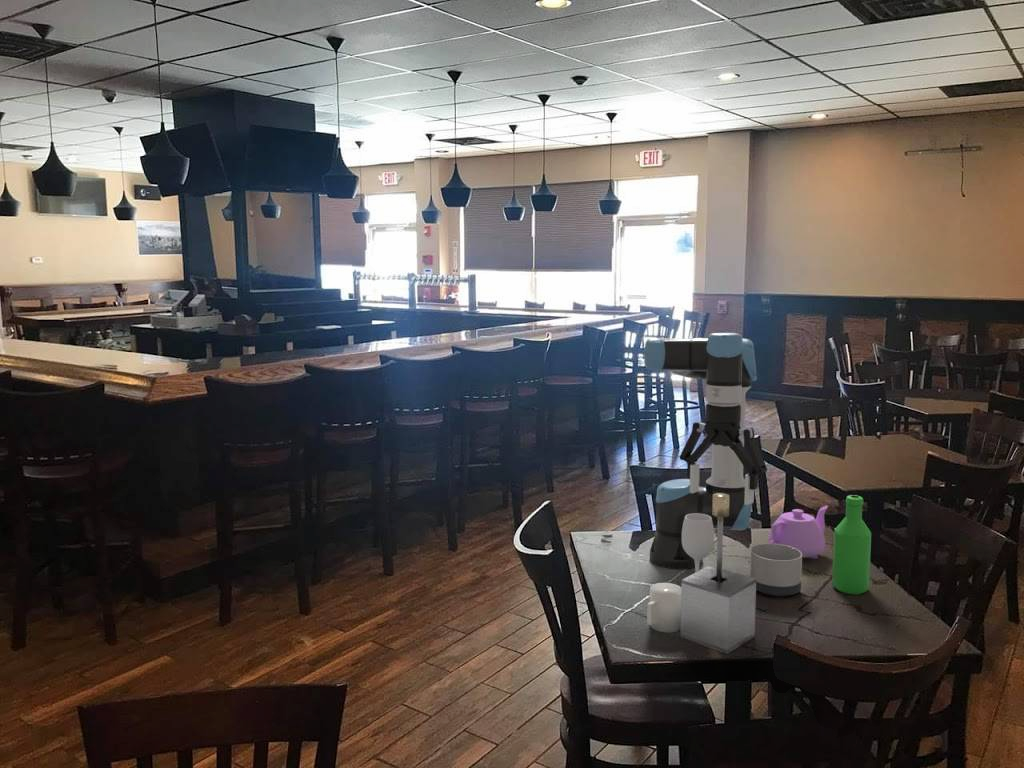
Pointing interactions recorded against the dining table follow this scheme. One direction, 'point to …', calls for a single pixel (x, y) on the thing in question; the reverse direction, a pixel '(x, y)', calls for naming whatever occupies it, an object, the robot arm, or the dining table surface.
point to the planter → (776, 569)
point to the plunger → (720, 527)
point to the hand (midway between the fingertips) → (720, 497)
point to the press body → (718, 609)
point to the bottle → (852, 550)
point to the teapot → (800, 532)
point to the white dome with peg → (664, 607)
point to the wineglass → (697, 536)
